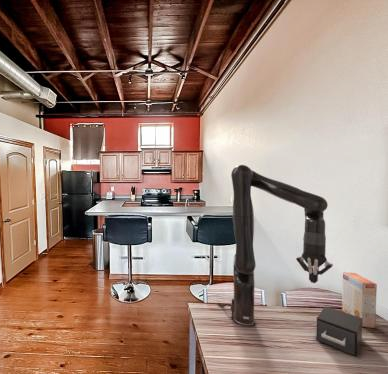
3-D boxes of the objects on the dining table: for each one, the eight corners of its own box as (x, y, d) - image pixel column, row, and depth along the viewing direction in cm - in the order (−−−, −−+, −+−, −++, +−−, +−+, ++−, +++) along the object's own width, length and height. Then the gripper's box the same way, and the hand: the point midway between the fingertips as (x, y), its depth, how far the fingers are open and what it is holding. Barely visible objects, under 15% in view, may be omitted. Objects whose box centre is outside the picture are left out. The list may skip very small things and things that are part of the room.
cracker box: (376, 329, 106) (377, 283, 106) (361, 327, 108) (362, 282, 107) (354, 312, 120) (355, 272, 120) (341, 311, 121) (342, 271, 121)
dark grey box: (356, 356, 89) (357, 332, 89) (316, 339, 99) (316, 317, 99) (361, 340, 99) (362, 318, 98) (324, 326, 108) (324, 306, 108)
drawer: (352, 361, 86) (352, 340, 85) (314, 345, 94) (314, 326, 94) (359, 339, 98) (359, 321, 97) (325, 327, 106) (325, 310, 106)
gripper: (336, 244, 96) (335, 285, 97) (298, 238, 107) (297, 275, 107) (332, 247, 92) (331, 290, 92) (293, 240, 102) (292, 279, 102)
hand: (313, 282), depth 99 cm, fingers closed
